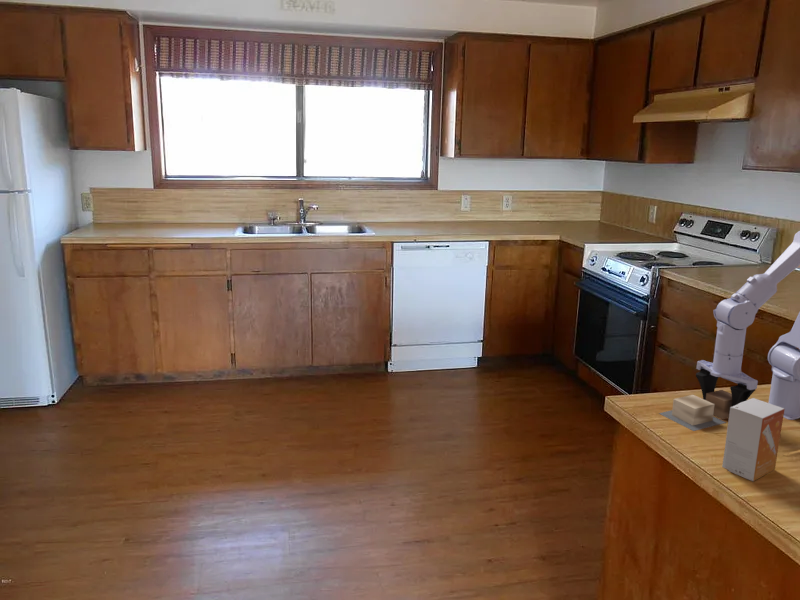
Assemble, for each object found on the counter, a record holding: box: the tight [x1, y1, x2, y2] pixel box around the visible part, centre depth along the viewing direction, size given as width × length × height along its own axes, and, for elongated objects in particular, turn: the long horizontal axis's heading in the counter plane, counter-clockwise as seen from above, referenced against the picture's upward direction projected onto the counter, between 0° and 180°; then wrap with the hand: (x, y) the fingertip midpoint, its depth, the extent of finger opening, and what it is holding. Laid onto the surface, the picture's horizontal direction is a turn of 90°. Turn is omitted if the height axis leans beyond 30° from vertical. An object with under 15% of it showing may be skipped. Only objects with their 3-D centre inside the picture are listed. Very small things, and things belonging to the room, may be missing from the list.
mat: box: [658, 409, 727, 432], centre depth 145 cm, size 10×10×1 cm
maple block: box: [671, 394, 715, 425], centre depth 144 cm, size 6×6×4 cm
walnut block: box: [706, 389, 732, 421], centre depth 147 cm, size 5×5×5 cm
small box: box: [721, 397, 785, 482], centre depth 122 cm, size 8×6×13 cm
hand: (721, 407), depth 147 cm, fingers open, 7 cm apart
